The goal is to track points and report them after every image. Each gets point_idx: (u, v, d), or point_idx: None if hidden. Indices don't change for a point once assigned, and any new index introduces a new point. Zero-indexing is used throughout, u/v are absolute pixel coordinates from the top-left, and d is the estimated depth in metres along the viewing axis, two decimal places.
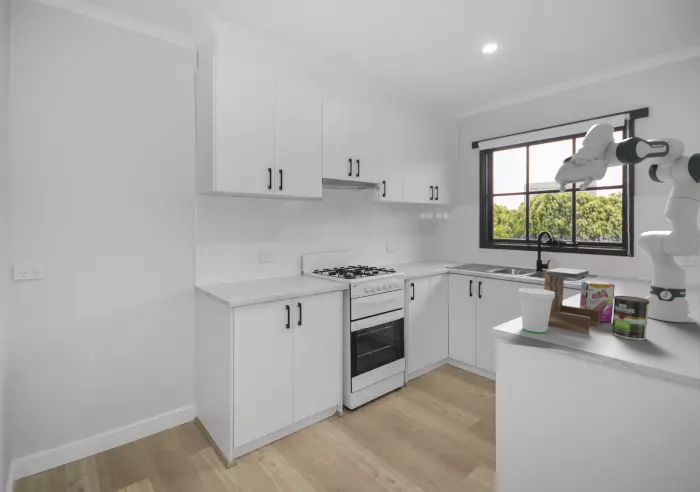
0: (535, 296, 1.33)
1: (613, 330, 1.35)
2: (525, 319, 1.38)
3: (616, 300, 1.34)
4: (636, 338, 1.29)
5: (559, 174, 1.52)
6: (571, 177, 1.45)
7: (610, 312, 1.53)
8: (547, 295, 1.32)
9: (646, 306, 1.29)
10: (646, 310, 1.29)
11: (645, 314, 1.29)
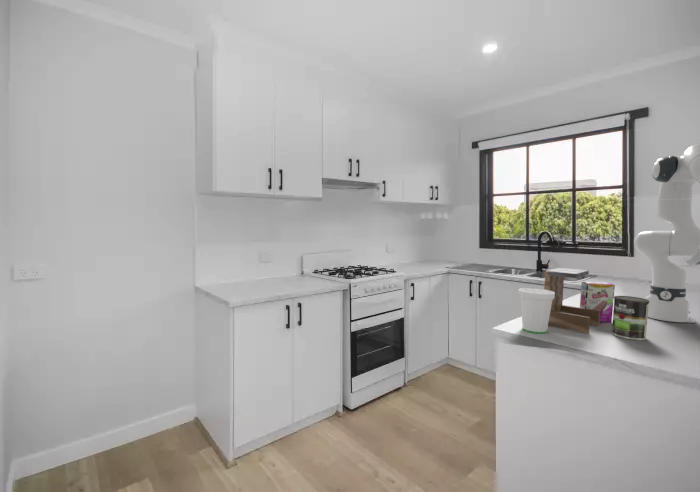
0: (535, 296, 1.33)
1: (613, 330, 1.35)
2: (525, 319, 1.38)
3: (616, 300, 1.34)
4: (636, 338, 1.29)
5: None
6: None
7: (610, 312, 1.53)
8: (547, 295, 1.32)
9: (646, 306, 1.29)
10: (646, 310, 1.29)
11: (645, 314, 1.29)
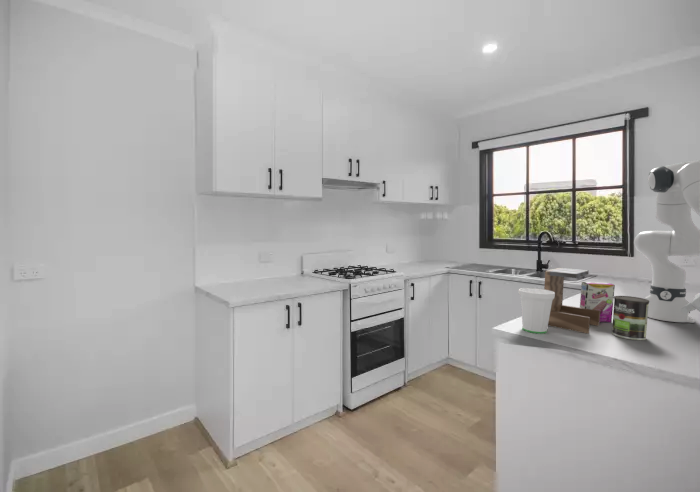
0: (535, 296, 1.33)
1: (613, 330, 1.35)
2: (525, 319, 1.38)
3: (616, 300, 1.34)
4: (636, 338, 1.29)
5: None
6: None
7: (610, 312, 1.53)
8: (547, 295, 1.32)
9: (646, 306, 1.29)
10: (646, 310, 1.29)
11: (645, 314, 1.29)
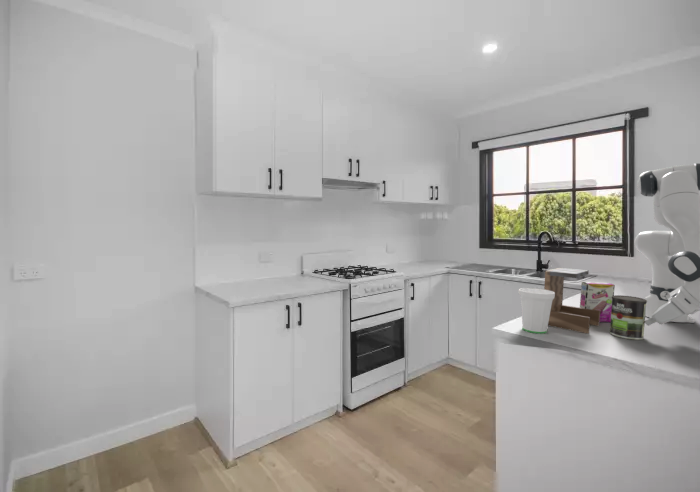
0: (535, 296, 1.33)
1: (611, 330, 1.36)
2: (525, 319, 1.38)
3: (614, 300, 1.34)
4: (634, 337, 1.30)
5: None
6: None
7: (610, 312, 1.53)
8: (547, 295, 1.32)
9: (644, 306, 1.29)
10: (644, 310, 1.30)
11: (643, 314, 1.30)
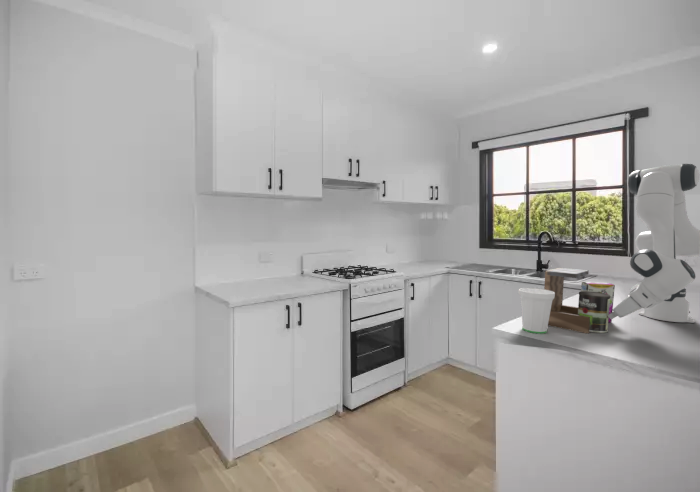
0: (535, 296, 1.33)
1: None
2: (525, 319, 1.38)
3: (580, 295, 1.42)
4: (598, 331, 1.37)
5: None
6: None
7: (610, 312, 1.53)
8: (547, 295, 1.32)
9: (607, 301, 1.37)
10: (607, 304, 1.37)
11: (606, 308, 1.37)
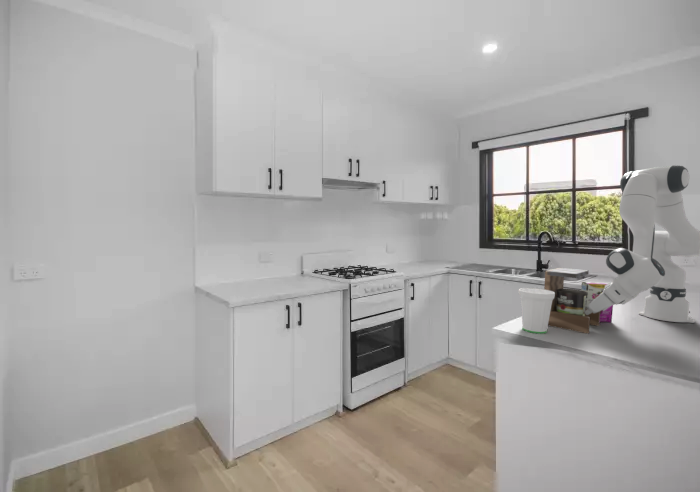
0: (535, 296, 1.33)
1: None
2: (525, 319, 1.38)
3: (558, 292, 1.48)
4: None
5: (601, 309, 1.33)
6: None
7: (610, 312, 1.53)
8: (547, 295, 1.32)
9: (583, 297, 1.43)
10: (584, 301, 1.43)
11: (583, 305, 1.43)
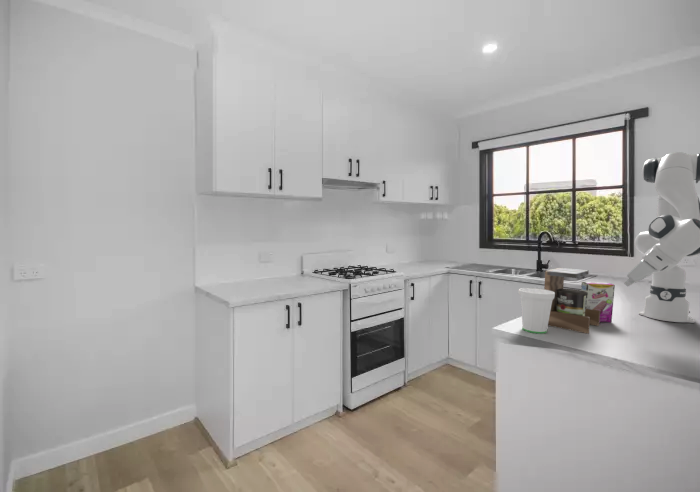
0: (535, 296, 1.33)
1: None
2: (525, 319, 1.38)
3: (558, 292, 1.48)
4: None
5: None
6: None
7: (610, 312, 1.53)
8: (547, 295, 1.32)
9: (583, 297, 1.43)
10: (583, 301, 1.43)
11: (583, 305, 1.43)
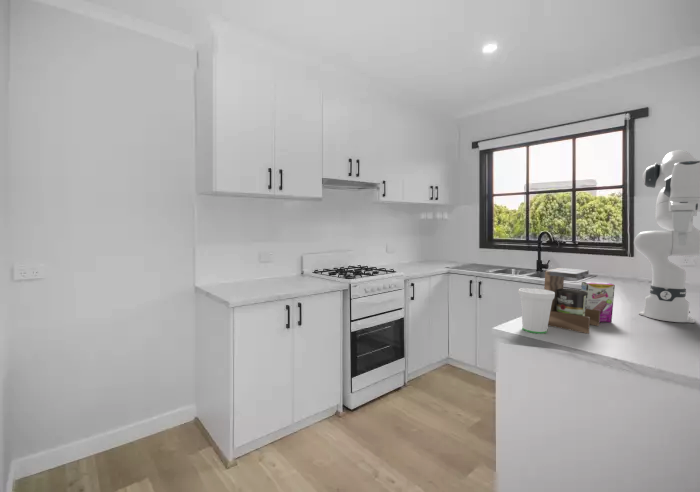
0: (535, 296, 1.33)
1: None
2: (525, 319, 1.38)
3: (558, 292, 1.48)
4: None
5: None
6: (689, 231, 1.28)
7: (610, 312, 1.53)
8: (547, 295, 1.32)
9: (583, 297, 1.43)
10: (583, 301, 1.43)
11: (583, 305, 1.43)
